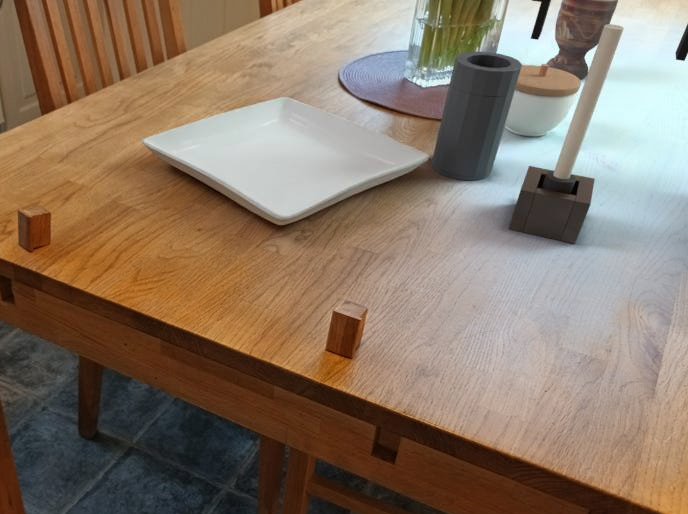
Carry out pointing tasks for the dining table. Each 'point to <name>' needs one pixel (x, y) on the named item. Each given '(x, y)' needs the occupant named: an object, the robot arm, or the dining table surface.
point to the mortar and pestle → (579, 32)
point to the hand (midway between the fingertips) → (605, 46)
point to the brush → (584, 112)
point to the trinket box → (541, 100)
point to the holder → (551, 207)
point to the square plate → (284, 157)
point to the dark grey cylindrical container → (475, 114)
